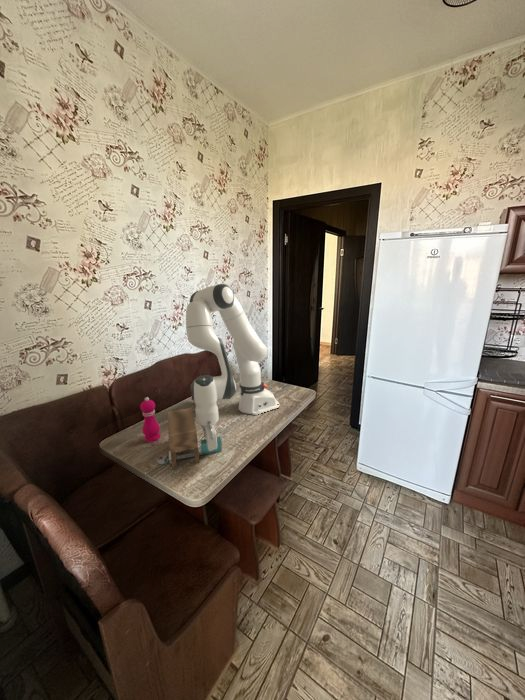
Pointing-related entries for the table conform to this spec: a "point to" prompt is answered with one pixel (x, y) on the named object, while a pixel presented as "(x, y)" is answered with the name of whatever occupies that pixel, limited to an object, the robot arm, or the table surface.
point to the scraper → (202, 450)
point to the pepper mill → (150, 421)
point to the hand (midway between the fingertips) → (210, 446)
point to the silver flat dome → (163, 460)
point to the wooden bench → (182, 433)
